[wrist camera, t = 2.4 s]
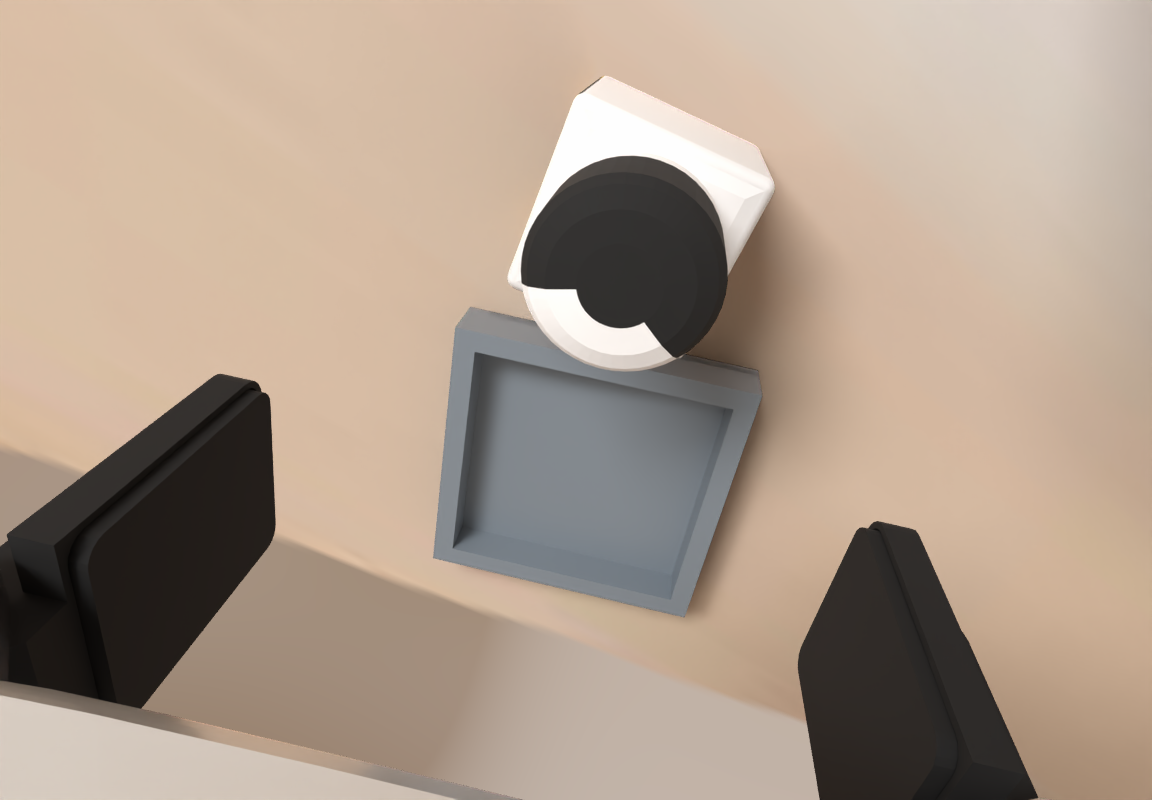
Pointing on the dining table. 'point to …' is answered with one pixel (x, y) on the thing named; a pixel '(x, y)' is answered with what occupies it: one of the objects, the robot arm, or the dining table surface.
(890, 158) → the dining table surface
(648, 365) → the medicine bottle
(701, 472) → the tray
